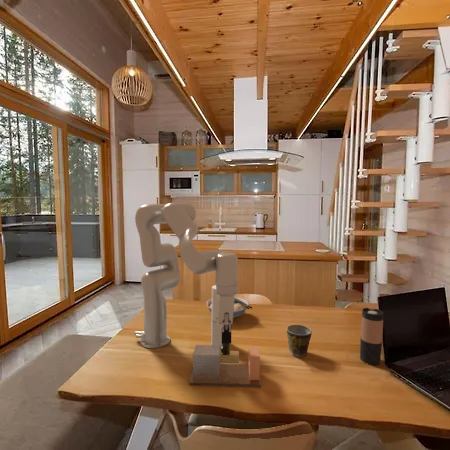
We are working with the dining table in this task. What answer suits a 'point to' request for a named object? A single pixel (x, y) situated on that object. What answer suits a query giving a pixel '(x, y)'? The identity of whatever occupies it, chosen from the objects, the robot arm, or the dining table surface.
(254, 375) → the socket
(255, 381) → the brown wooden base board
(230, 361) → the sliding bolt with handle
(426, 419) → the dining table surface
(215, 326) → the cylindrical container
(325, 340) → the dining table surface
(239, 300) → the ramen bowl
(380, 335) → the travel mug
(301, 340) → the ceramic cup
